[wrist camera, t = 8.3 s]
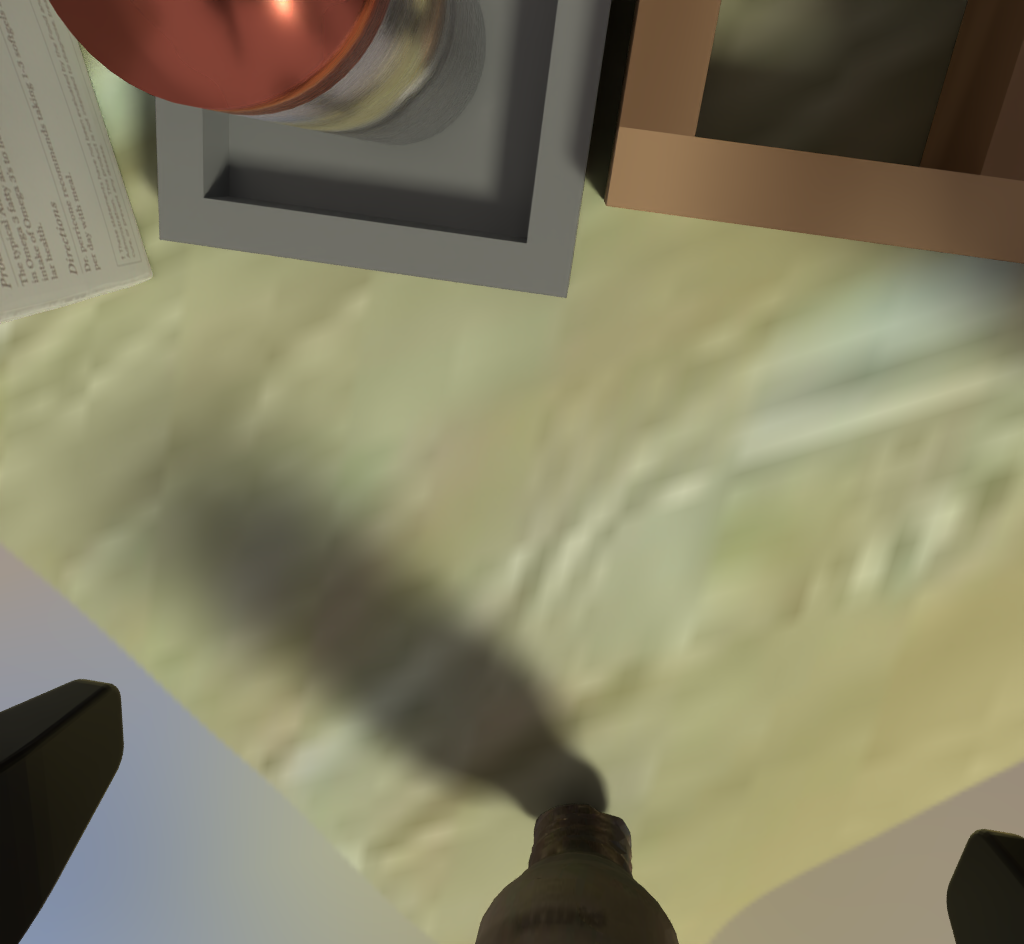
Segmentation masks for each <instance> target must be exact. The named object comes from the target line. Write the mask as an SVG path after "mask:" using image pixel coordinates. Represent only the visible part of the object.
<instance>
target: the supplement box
mask: <svg viewBox="0 0 1024 944" xmlns="http://www.w3.org/2000/svg"><path fill="white" fill-rule="evenodd" d="M152 277H153V273H152V269H151V266H150V263H149V260H148V257H147V254H146V251H145V248H144V245H143V242H142V238H141V235H140V232H139V229H138V226H137V222H136V219H135V216H134V213H133V210H132V207H131V204H130V201H129V198H128V195H127V192H126V189H125V186H124V182H123V179H122V176H121V173H120V170H119V167H118V164H117V161H116V158H115V155H114V152H113V149H112V145H111V142H110V139H109V136H108V133H107V130H106V127H105V124H104V121H103V118H102V115H101V111H100V108H99V105H98V102H97V99H96V96H95V93H94V90H93V87H92V84H91V81H90V77H89V74H88V71H87V68H86V65H85V62H84V59H83V56H82V53H81V50H80V47H79V43H78V40H77V39H76V38H75V37H74V36H73V35H72V33H71V32H70V31H69V29H68V28H67V27H66V25H65V24H64V23H63V21H62V20H61V19H60V17H59V16H58V15H57V13H56V12H55V10H54V8H53V6H52V5H51V3H50V1H49V0H0V324H1V323H5V322H9V321H12V320H16V319H19V318H23V317H26V316H30V315H34V314H37V313H41V312H45V311H48V310H52V309H56V308H60V307H64V306H67V305H70V304H74V303H77V302H80V301H83V300H86V299H90V298H93V297H96V296H100V295H103V294H107V293H111V292H114V291H118V290H121V289H125V288H128V287H132V286H135V285H137V284H140V283H142V282H145V281H147V280H150V279H151V278H152Z"/></svg>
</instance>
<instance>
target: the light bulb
mask: <svg viewBox="0 0 1024 944" xmlns="http://www.w3.org/2000/svg"><path fill="white" fill-rule="evenodd" d="M631 858H632V852H631V835H630V831H629V829H628V828H627V826H626V824H625V823H624V821H623V820H622V819H621V818H619V817H616V816H612V815H609V814H605V813H602V812H598V811H597V810H595V809H594V808H593V807H591V806H590V805H588V804H565V805H561V806H557V807H555V808H552V809H550V810H548V811H546V812H545V813H543V814H542V815H540V817H539V818H538V819H537V820H536V824H535V828H534V845H533V847H532V853H531V855H530V859H529V867H528V869H527V870H526V871H524V872H523V874H522V875H521V876H519V877H518V878H517V879H515V880H514V881H513V882H511V883H510V884H509V885H507V886H506V887H505V888H504V889H503V890H502V891H501V892H500V893H499V894H498V896H497V897H496V898H495V899H494V900H493V902H492V903H491V905H490V907H489V908H488V910H487V911H486V913H485V914H484V916H483V918H482V920H481V923H480V927H479V931H478V935H477V939H476V943H475V944H679V943H678V939H677V935H676V932H675V930H674V928H673V926H672V924H671V922H670V920H669V919H668V917H667V915H666V914H665V912H664V911H663V909H662V908H661V906H660V905H659V903H658V902H657V901H656V900H655V899H654V898H653V897H652V896H651V895H650V894H649V893H648V892H647V891H646V890H645V889H644V888H643V887H642V886H641V885H640V884H638V883H637V882H636V881H635V880H634V879H633V876H632V864H631Z"/></svg>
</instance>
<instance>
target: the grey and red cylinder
mask: <svg viewBox="0 0 1024 944" xmlns="http://www.w3.org/2000/svg"><path fill="white" fill-rule="evenodd" d="M49 1H50V3H51V5H52V6H53V8H54V10H55V12H56V13H57V15H58V16H59V17H60V19H61V20H62V21H63V23H64V24H65V25H66V27H67V28H68V29H69V31H70V32H71V33H72V35H73V36H74V37H75V38H76V39H77V40H78V41H79V42H80V43H81V44H82V45H83V46H84V48H85V49H86V50H87V51H88V52H89V53H90V54H91V55H92V56H93V57H95V58H96V59H97V60H98V61H99V62H100V63H102V64H103V65H104V66H105V67H106V68H107V69H109V70H110V71H111V72H113V73H114V74H116V75H117V76H119V77H120V78H122V79H123V80H125V81H126V82H128V83H129V84H131V85H133V86H135V87H137V88H139V89H141V90H143V91H145V92H147V93H148V94H150V95H153V96H156V97H159V98H161V99H164V100H167V101H170V102H173V103H177V104H182V105H187V106H192V107H197V108H203V109H208V110H213V111H218V112H223V113H228V114H233V115H238V116H243V117H248V118H253V119H259V120H264V121H269V122H274V123H279V124H284V125H289V126H294V127H299V128H304V129H309V130H315V131H320V132H325V133H330V134H335V135H340V136H345V137H350V138H355V139H360V140H366V141H371V142H376V143H381V144H386V145H406V144H412V143H416V142H421V141H423V140H426V139H428V138H431V137H433V136H435V135H436V134H438V133H440V132H442V131H443V130H444V129H446V128H447V127H448V126H450V125H451V124H452V123H453V122H454V121H455V120H456V119H457V118H458V117H459V116H460V115H461V114H462V112H463V111H464V110H465V108H466V107H467V106H468V104H469V103H470V101H471V99H472V97H473V96H474V94H475V91H476V89H477V87H478V84H479V82H480V79H481V75H482V72H483V68H484V62H485V55H486V32H485V23H484V18H483V13H482V10H481V6H480V3H479V0H49Z"/></svg>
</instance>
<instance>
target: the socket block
mask: <svg viewBox="0 0 1024 944" xmlns="http://www.w3.org/2000/svg"><path fill="white" fill-rule="evenodd" d="M720 4H721V0H636V4H635V11H634V17H633V23H632V29H631V35H630V42H629V48H628V54H627V60H626V67H625V73H624V79H623V85H622V91H621V98H620V104H619V110H618V116H617V123H616V129H615V135H614V141H613V148H612V154H611V160H610V166H609V172H608V179H607V185H606V191H605V197H604V202H605V204H606V206H612V207H619V208H626V209H633V210H641V211H648V212H655V213H662V214H669V215H677V216H684V217H691V218H698V219H706V220H713V221H720V222H727V223H734V224H742V225H749V226H756V227H763V228H771V229H778V230H785V231H792V232H799V233H807V234H814V235H821V236H828V237H836V238H843V239H850V240H857V241H864V242H872V243H879V244H886V245H893V246H901V247H908V248H915V249H922V250H929V251H937V252H944V253H951V254H958V255H965V256H973V257H980V258H987V259H994V260H1002V261H1009V262H1016V263H1023V264H1024V0H968V2H967V6H966V9H965V12H964V16H963V19H962V23H961V26H960V29H959V33H958V36H957V40H956V43H955V47H954V50H953V53H952V57H951V60H950V64H949V67H948V71H947V74H946V77H945V81H944V84H943V88H942V91H941V95H940V98H939V101H938V105H937V108H936V112H935V115H934V119H933V122H932V125H931V129H930V132H929V136H928V139H927V143H926V146H925V149H924V153H923V156H922V160H921V163H920V167H916V166H908V165H901V164H893V163H886V162H878V161H871V160H863V159H856V158H849V157H841V156H834V155H826V154H819V153H811V152H804V151H797V150H789V149H782V148H774V147H767V146H759V145H752V144H744V143H737V142H730V141H722V140H715V139H707V138H700V137H695V133H696V128H697V123H698V118H699V112H700V107H701V102H702V97H703V92H704V87H705V82H706V76H707V71H708V66H709V61H710V56H711V51H712V45H713V40H714V35H715V30H716V25H717V20H718V15H719V9H720Z"/></svg>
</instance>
